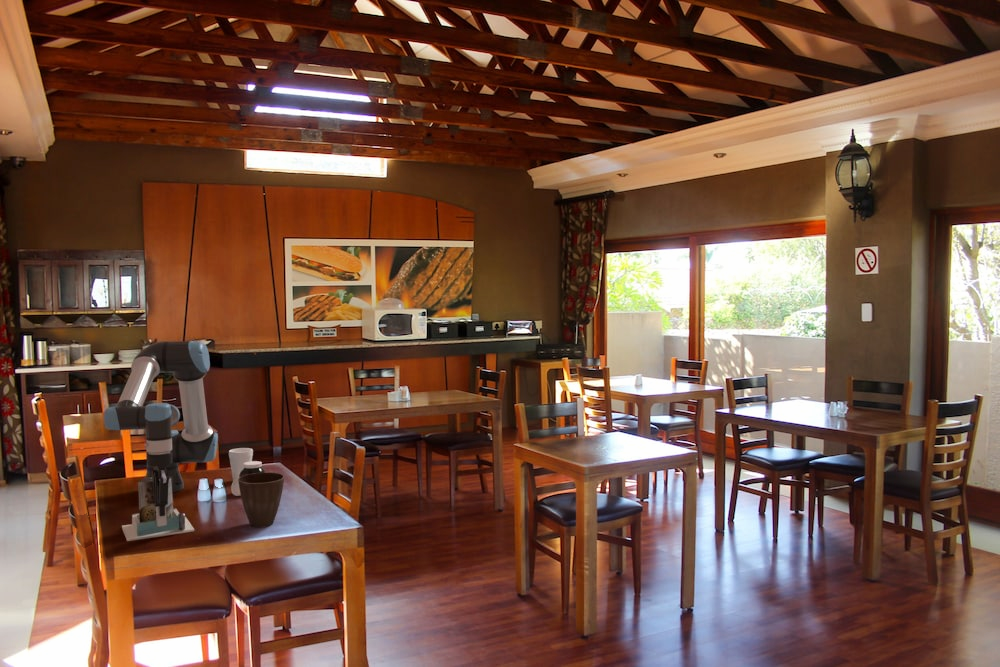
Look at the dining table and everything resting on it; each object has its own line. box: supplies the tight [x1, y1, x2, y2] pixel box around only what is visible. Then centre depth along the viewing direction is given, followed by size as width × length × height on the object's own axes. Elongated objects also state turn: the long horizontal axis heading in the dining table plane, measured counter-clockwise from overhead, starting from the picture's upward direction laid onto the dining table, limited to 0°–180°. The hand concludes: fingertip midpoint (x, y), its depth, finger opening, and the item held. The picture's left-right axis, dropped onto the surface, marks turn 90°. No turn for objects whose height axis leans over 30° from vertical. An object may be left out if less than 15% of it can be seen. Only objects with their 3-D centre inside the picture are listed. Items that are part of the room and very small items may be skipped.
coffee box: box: [137, 477, 174, 522], centre depth 255 cm, size 9×6×16 cm
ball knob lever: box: [137, 512, 186, 537], centre depth 247 cm, size 15×2×5 cm, turn 131°
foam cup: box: [228, 447, 254, 482], centre depth 320 cm, size 10×9×13 cm
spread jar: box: [230, 460, 267, 497], centre depth 301 cm, size 12×11×12 cm
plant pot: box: [238, 471, 285, 528], centre depth 260 cm, size 15×15×16 cm
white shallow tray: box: [121, 508, 195, 542], centre depth 254 cm, size 17×20×4 cm
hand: (161, 525), depth 246 cm, fingers closed
